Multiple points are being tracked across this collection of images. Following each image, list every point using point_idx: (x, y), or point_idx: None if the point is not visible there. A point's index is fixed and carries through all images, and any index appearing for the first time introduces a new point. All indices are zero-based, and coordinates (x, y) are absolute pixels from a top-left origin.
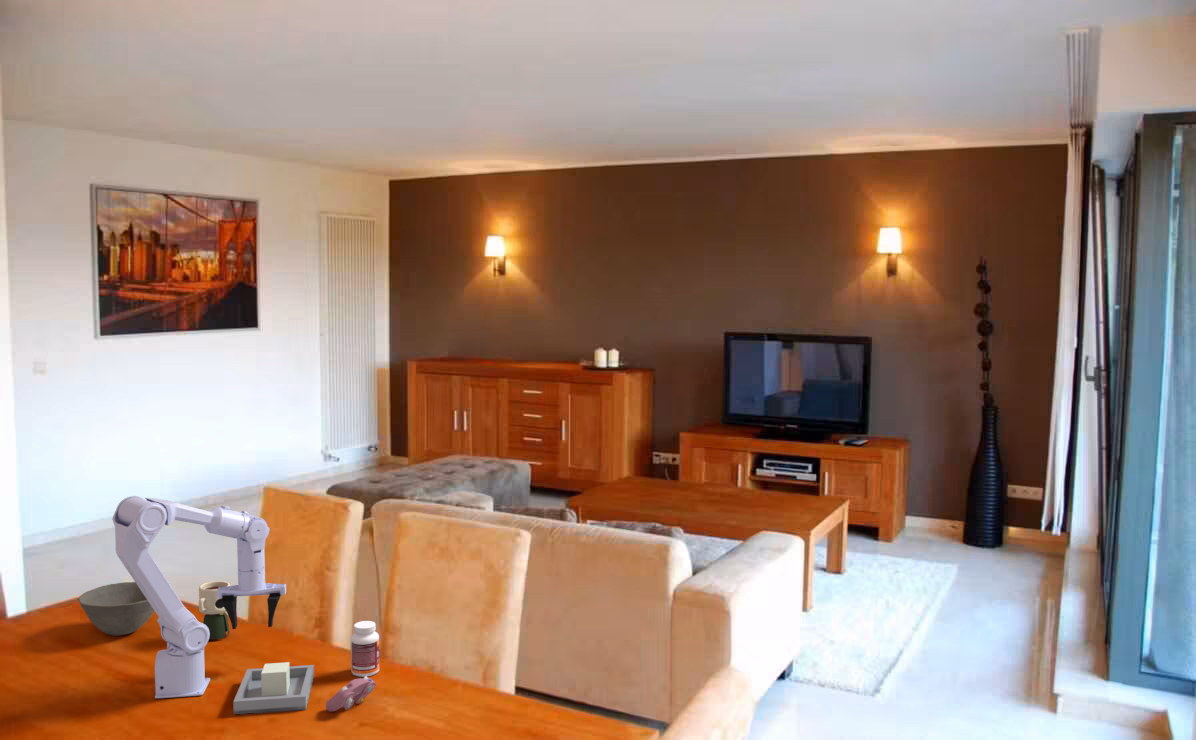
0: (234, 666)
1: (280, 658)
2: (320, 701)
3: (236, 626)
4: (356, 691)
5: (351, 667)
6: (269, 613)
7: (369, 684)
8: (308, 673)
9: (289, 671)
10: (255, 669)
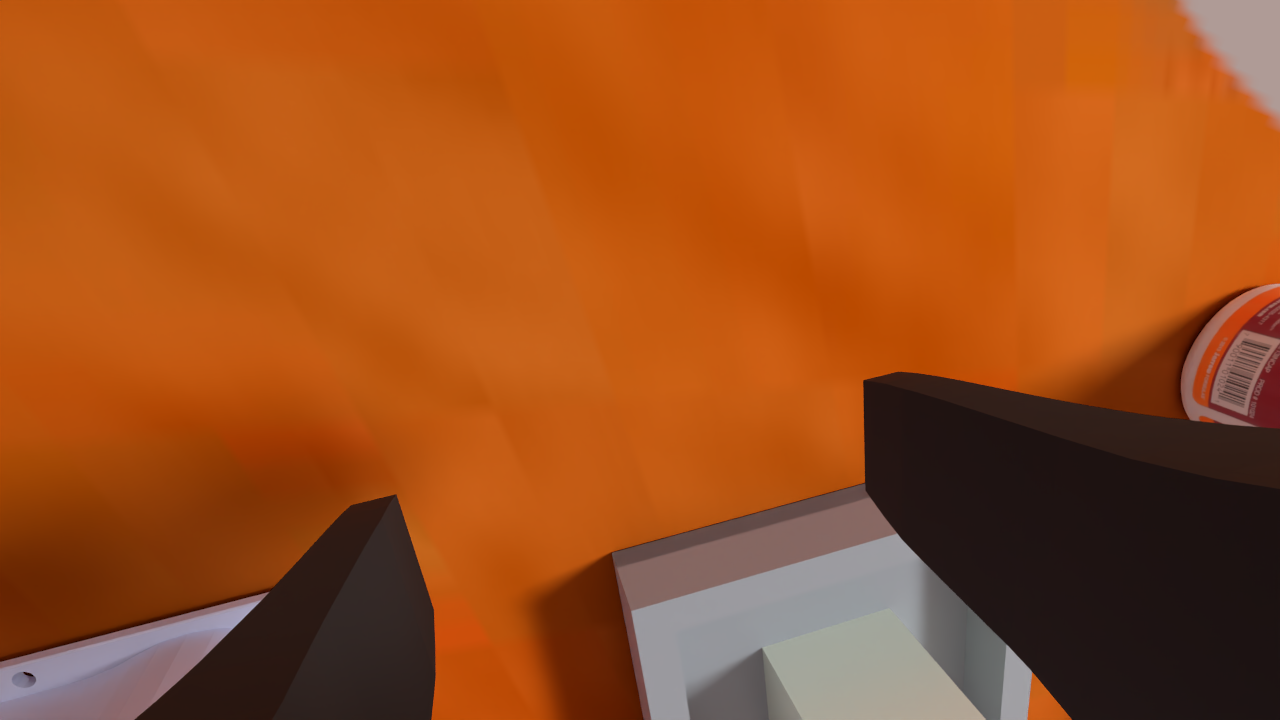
0: (400, 320)
1: (731, 144)
2: None
3: (413, 557)
4: None
5: (1214, 409)
6: (1048, 669)
7: None
8: None
9: (943, 674)
10: (692, 607)
